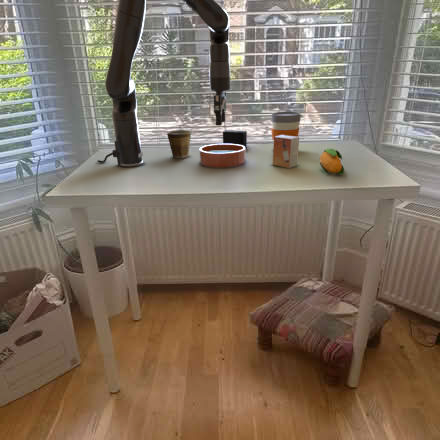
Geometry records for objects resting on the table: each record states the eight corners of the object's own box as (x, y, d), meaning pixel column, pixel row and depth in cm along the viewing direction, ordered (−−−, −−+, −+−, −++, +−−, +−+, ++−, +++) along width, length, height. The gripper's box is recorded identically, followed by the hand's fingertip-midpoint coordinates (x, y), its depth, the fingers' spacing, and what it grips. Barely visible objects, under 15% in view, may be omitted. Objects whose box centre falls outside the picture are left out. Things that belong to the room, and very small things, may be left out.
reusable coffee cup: (264, 151, 176) (265, 114, 168) (278, 146, 184) (279, 111, 177) (290, 154, 169) (292, 116, 162) (303, 149, 178) (305, 112, 170)
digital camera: (247, 146, 187) (247, 130, 184) (243, 148, 183) (243, 132, 180) (227, 145, 191) (227, 129, 188) (223, 147, 187) (222, 131, 183)
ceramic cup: (196, 156, 171) (195, 132, 166) (176, 160, 167) (174, 135, 162) (181, 152, 181) (179, 128, 176) (162, 155, 176) (159, 131, 171)
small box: (272, 165, 155) (273, 136, 149) (280, 162, 158) (281, 134, 153) (289, 168, 150) (291, 138, 144) (297, 165, 153) (299, 136, 148)
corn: (338, 144, 147) (351, 156, 130) (337, 165, 151) (349, 179, 134) (317, 146, 148) (328, 158, 131) (317, 166, 152) (327, 181, 135)
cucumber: (206, 162, 160) (205, 151, 158) (208, 160, 164) (207, 149, 162) (238, 162, 158) (238, 151, 156) (239, 160, 162) (239, 149, 160)
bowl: (196, 167, 155) (195, 153, 152) (205, 157, 170) (204, 143, 167) (242, 168, 152) (242, 153, 149) (247, 157, 167) (247, 143, 165)
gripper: (213, 75, 152) (214, 120, 160) (206, 77, 140) (207, 126, 148) (232, 74, 151) (232, 121, 159) (227, 76, 139) (227, 126, 147)
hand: (220, 123), depth 154 cm, fingers open, 8 cm apart
